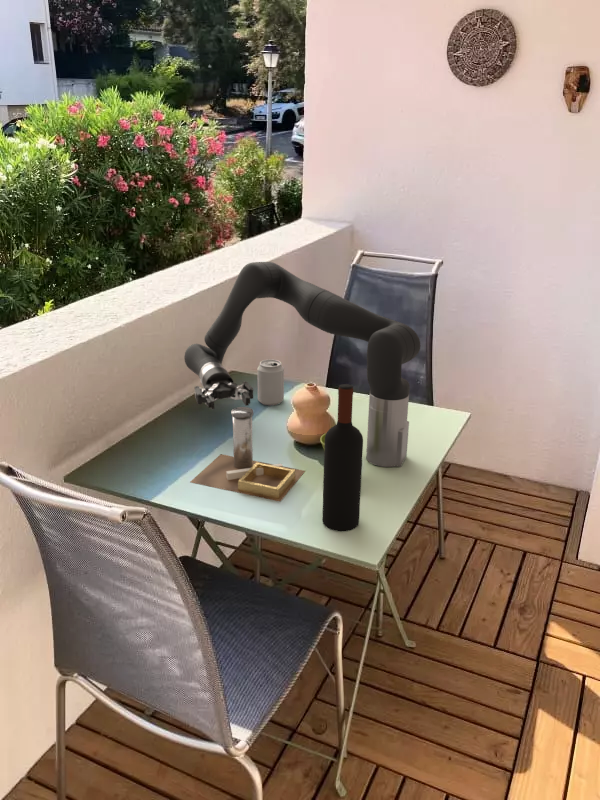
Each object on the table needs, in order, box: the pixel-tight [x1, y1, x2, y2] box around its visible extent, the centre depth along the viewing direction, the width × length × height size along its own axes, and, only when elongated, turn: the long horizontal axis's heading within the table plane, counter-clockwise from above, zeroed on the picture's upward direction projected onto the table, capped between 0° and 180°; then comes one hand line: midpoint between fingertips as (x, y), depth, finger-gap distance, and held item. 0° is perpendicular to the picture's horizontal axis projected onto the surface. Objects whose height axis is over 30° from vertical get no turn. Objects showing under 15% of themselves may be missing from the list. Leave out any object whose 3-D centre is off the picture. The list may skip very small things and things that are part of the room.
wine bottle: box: [321, 383, 364, 533], centre depth 144 cm, size 8×8×30 cm
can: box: [256, 358, 285, 407], centre depth 206 cm, size 8×8×12 cm
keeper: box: [238, 461, 295, 499], centre depth 161 cm, size 10×10×2 cm
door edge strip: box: [226, 463, 284, 480], centre depth 165 cm, size 1×13×2 cm, turn 108°
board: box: [189, 454, 306, 503], centre depth 165 cm, size 22×15×1 cm
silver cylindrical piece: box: [230, 406, 254, 469], centre depth 167 cm, size 5×5×14 cm
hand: (230, 403), depth 176 cm, fingers open, 8 cm apart
